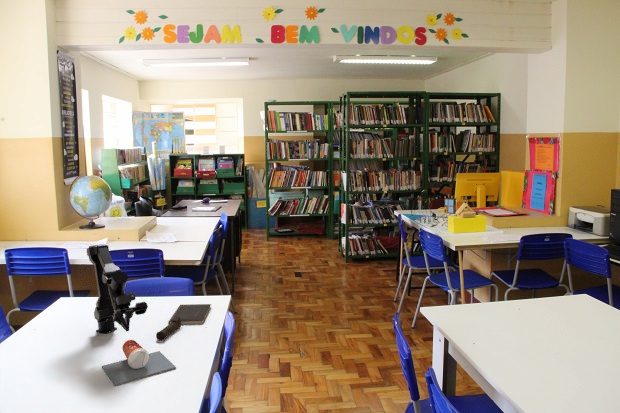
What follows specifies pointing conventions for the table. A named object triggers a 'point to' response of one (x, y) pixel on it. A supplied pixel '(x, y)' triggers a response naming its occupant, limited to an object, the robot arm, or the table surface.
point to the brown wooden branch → (169, 329)
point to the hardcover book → (191, 313)
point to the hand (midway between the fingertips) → (127, 330)
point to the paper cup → (135, 354)
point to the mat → (125, 373)
